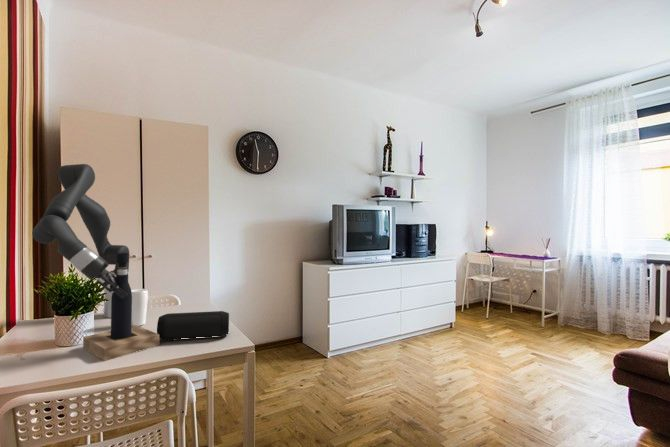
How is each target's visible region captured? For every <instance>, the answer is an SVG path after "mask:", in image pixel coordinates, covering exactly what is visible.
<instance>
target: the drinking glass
mask: <svg viewBox="0 0 670 447" xmlns="http://www.w3.org/2000/svg"><path fill="white" fill-rule="evenodd" d="M131 292H132V324H131V326H132V325H133V326H135V325H137V326H138V325H142V326H144V325H145V324H146V323H147V321H146V320H147V312H148V311H147V310H148V301H149V291H148V289H146V288H136V289H131ZM143 324H144V325H143Z"/></svg>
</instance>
